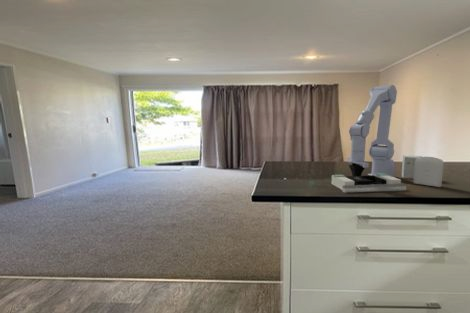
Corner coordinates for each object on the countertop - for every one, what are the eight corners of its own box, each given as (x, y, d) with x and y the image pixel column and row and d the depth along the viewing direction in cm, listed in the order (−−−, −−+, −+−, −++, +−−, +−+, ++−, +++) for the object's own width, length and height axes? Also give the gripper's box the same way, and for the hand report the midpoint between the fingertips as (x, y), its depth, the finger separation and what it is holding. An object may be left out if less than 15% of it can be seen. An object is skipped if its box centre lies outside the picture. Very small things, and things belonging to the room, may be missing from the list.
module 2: (382, 182, 122) (382, 172, 122) (400, 189, 111) (401, 178, 110) (373, 182, 122) (374, 172, 121) (391, 189, 110) (391, 179, 110)
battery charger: (356, 190, 111) (357, 181, 110) (345, 184, 120) (345, 176, 120) (386, 189, 112) (387, 180, 111) (372, 183, 121) (373, 175, 121)
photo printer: (411, 183, 120) (414, 156, 118) (414, 182, 122) (417, 155, 120) (439, 188, 112) (442, 158, 110) (442, 186, 114) (445, 157, 113)
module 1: (340, 183, 121) (340, 174, 120) (354, 190, 109) (354, 180, 108) (331, 183, 120) (331, 174, 120) (344, 191, 109) (345, 180, 108)
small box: (419, 177, 132) (421, 155, 130) (422, 179, 127) (424, 157, 125) (401, 175, 135) (402, 155, 133) (403, 178, 130) (404, 156, 128)
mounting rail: (402, 189, 111) (403, 183, 110) (406, 190, 109) (406, 184, 108) (342, 191, 109) (342, 185, 108) (344, 192, 107) (344, 186, 106)
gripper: (341, 149, 127) (340, 177, 129) (358, 153, 112) (356, 184, 114) (355, 148, 127) (354, 176, 129) (374, 152, 113) (372, 184, 115)
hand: (356, 180), depth 122 cm, fingers closed
